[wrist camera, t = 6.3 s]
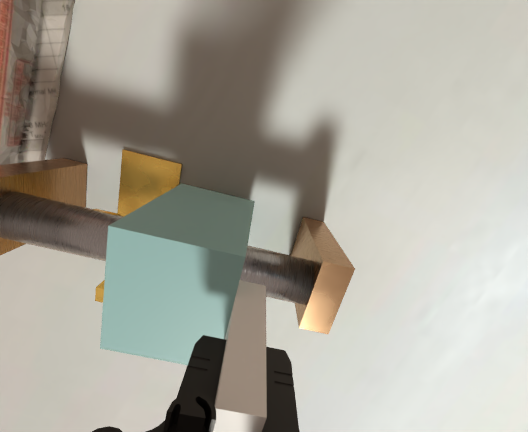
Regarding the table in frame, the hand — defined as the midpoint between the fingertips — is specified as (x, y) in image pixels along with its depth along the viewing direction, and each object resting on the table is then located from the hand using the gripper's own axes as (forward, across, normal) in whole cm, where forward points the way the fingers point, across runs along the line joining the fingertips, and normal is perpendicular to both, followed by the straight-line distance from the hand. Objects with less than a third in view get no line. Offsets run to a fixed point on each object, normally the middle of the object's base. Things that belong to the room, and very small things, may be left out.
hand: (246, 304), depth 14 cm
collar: (+9, -4, 0) cm, 9 cm away
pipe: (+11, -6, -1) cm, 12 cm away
